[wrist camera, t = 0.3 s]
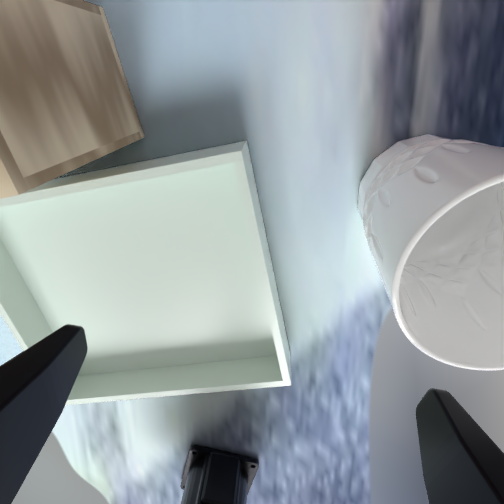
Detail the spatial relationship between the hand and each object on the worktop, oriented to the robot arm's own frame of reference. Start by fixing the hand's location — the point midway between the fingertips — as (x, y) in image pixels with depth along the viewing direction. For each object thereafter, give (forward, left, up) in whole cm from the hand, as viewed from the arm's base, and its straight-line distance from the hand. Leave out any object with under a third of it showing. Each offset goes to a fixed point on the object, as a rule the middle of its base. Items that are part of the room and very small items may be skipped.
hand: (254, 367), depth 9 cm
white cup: (+2, -8, -14) cm, 17 cm away
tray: (-8, +7, -14) cm, 17 cm away
